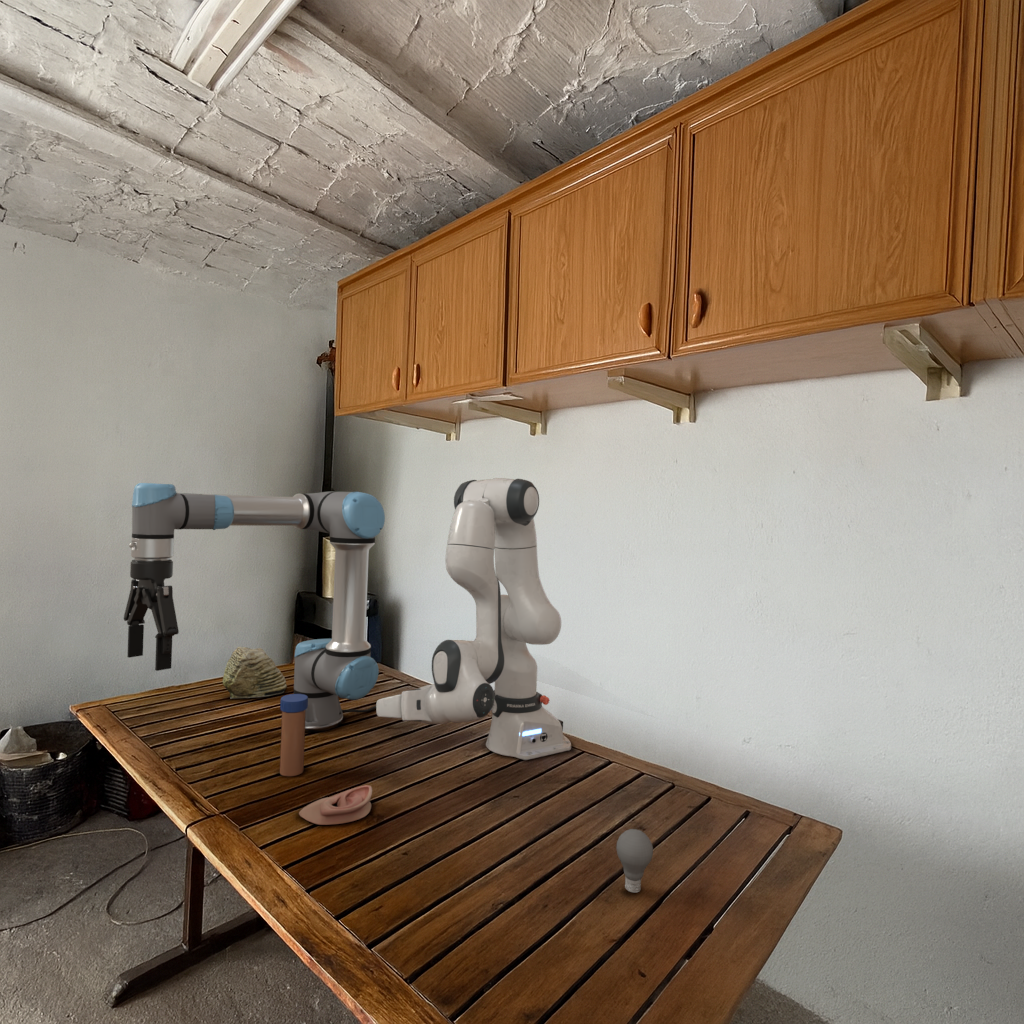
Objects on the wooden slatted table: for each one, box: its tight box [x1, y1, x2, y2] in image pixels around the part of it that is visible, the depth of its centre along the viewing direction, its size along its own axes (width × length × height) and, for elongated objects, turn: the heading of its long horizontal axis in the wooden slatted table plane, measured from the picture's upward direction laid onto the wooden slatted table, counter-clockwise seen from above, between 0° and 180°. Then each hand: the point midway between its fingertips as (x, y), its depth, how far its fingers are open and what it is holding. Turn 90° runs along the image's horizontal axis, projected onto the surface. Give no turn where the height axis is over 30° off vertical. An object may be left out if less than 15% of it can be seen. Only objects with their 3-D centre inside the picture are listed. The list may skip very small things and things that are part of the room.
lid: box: [279, 693, 308, 713], centre depth 145 cm, size 6×6×2 cm
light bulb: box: [615, 828, 654, 894], centre depth 106 cm, size 6×6×10 cm
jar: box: [279, 710, 306, 777], centre depth 145 cm, size 5×5×17 cm
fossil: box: [222, 646, 288, 699], centre depth 198 cm, size 9×18×15 cm, turn 132°
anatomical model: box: [298, 784, 373, 826], centre depth 127 cm, size 13×4×12 cm
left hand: (148, 662), depth 129 cm, fingers open, 13 cm apart
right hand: (395, 707), depth 154 cm, fingers open, 8 cm apart
